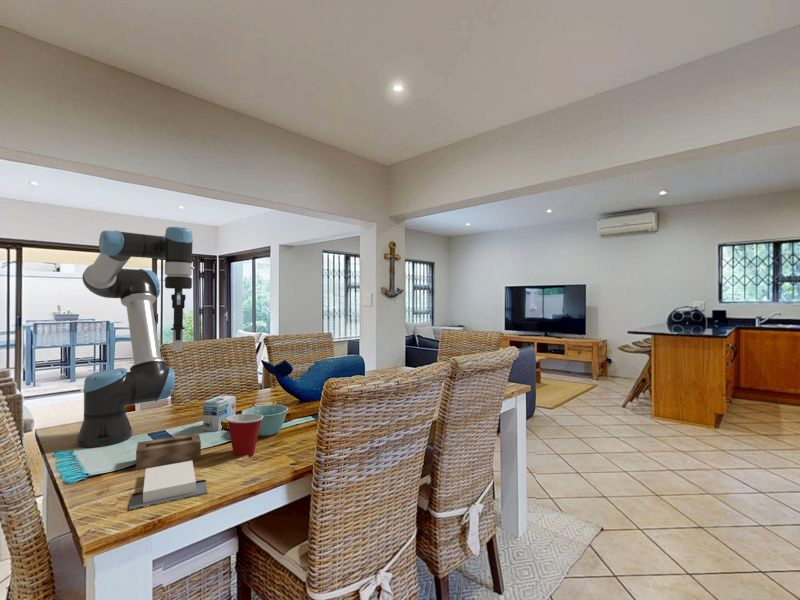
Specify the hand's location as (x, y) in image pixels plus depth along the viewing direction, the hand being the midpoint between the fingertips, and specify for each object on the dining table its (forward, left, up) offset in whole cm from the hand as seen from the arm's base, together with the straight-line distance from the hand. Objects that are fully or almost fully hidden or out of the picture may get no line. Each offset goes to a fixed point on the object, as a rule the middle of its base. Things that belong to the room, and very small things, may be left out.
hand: (177, 350), depth 127 cm
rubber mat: (+17, -20, -32) cm, 42 cm away
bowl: (+17, +22, -32) cm, 43 cm away
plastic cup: (+23, +2, -32) cm, 40 cm away
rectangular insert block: (+13, -16, -30) cm, 36 cm away
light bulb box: (-3, +23, -32) cm, 40 cm away
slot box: (+6, -9, -32) cm, 33 cm away
